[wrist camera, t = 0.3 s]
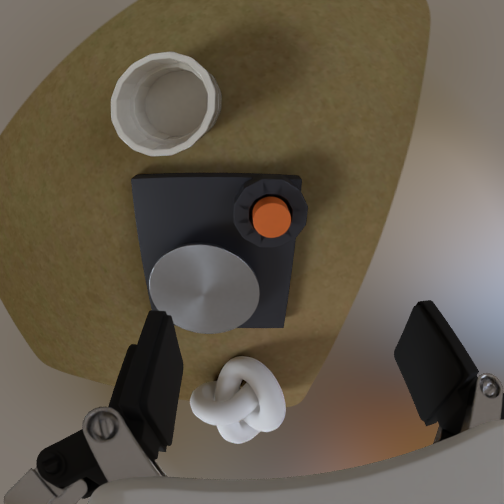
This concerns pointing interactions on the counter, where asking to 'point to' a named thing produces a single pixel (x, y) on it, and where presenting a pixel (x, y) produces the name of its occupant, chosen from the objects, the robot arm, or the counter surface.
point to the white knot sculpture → (241, 400)
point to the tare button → (271, 217)
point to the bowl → (165, 104)
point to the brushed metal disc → (204, 288)
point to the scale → (222, 226)
